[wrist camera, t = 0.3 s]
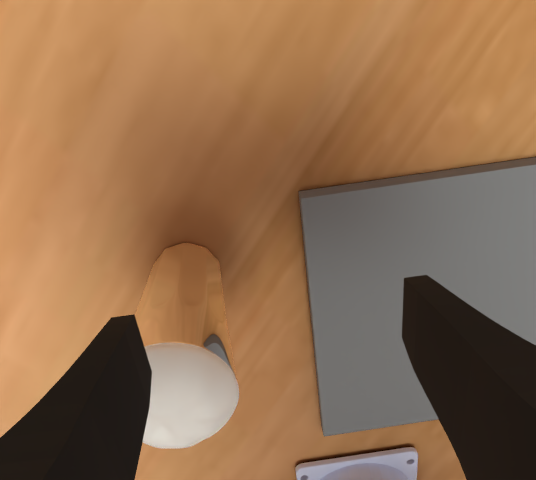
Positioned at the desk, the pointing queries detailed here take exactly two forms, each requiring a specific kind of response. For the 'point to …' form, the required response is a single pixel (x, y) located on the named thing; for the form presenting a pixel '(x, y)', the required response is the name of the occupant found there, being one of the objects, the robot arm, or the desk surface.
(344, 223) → the mat
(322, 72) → the desk surface
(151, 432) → the milkshake
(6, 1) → the desk surface
